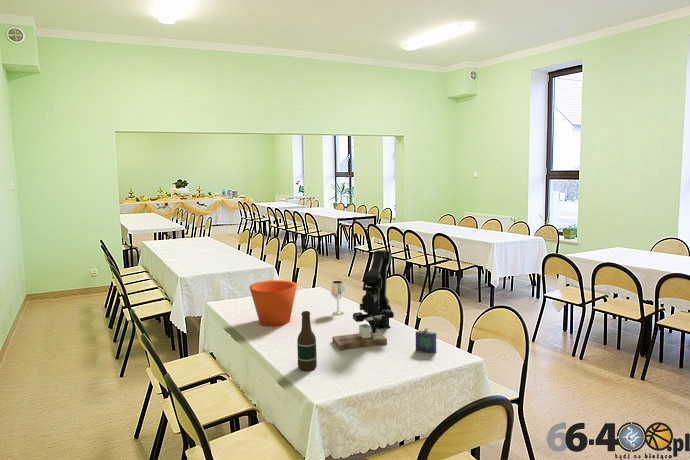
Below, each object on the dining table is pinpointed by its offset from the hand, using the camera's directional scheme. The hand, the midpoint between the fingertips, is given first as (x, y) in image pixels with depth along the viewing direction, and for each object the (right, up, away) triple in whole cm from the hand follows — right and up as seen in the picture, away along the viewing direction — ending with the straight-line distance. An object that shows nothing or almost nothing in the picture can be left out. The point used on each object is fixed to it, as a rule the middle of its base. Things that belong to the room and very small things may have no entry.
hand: (373, 332), depth 240 cm
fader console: (-7, -4, -1) cm, 8 cm away
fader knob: (-4, -1, -1) cm, 4 cm away
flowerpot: (-51, -1, +33) cm, 61 cm away
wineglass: (-17, +2, +45) cm, 48 cm away
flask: (+23, -6, -13) cm, 27 cm away
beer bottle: (-29, -9, -29) cm, 42 cm away
